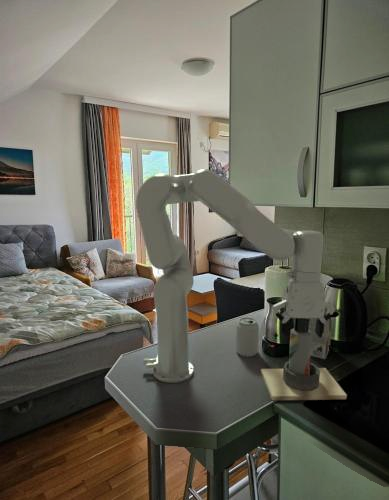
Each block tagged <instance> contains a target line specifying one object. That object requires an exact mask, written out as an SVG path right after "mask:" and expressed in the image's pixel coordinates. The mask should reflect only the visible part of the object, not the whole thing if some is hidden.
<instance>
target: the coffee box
mask: <svg viewBox="0 0 389 500" xmlns="http://www.w3.org/2000/svg"><path fill="white" fill-rule="evenodd" d="M327 310H328V309H327V308H325V312H327ZM317 320H318V319H309V331H311V333H312V338H311V356H310V357H315V358H320V359H322V360H326V359H327V357H328V353H329V352H330V349H329V345H330V346H331V337H330V331H331V332H332V320H331V318H329V319H328V320H327V321H326V323H325V324H324V333H322V337H318V335H317V334H316V333H315V328H316V321H317Z"/></svg>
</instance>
